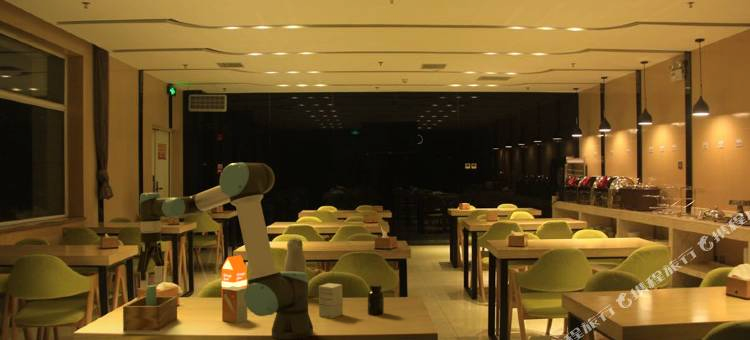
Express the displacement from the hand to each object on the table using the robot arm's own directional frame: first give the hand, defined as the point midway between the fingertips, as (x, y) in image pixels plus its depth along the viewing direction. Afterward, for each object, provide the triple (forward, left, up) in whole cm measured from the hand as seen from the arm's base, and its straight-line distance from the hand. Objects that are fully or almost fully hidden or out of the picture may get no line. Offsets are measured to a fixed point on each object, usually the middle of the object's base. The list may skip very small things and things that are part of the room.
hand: (151, 285), depth 229 cm
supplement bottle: (-45, -78, -16) cm, 91 cm away
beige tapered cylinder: (+6, -70, -15) cm, 72 cm away
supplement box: (-35, -62, -16) cm, 73 cm away
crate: (0, 0, -15) cm, 15 cm away
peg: (0, 0, -14) cm, 14 cm away
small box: (-16, -28, -16) cm, 36 cm away
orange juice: (+22, -46, -16) cm, 53 cm away
